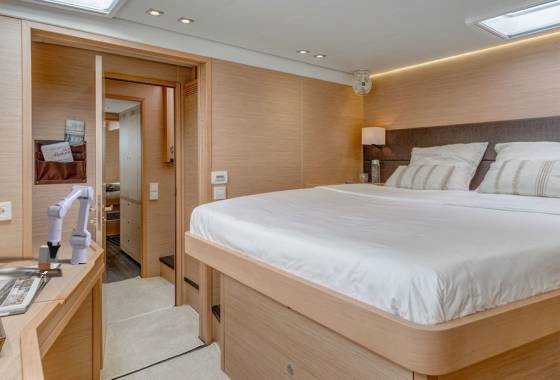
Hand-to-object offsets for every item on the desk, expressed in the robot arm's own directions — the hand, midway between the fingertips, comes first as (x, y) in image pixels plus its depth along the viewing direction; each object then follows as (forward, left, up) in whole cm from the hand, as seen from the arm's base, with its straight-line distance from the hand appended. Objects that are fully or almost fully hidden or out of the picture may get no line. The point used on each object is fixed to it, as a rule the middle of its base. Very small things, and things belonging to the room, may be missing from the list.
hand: (52, 257), depth 178 cm
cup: (0, 0, -2) cm, 2 cm away
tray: (0, 0, -9) cm, 9 cm away
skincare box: (-11, -2, -9) cm, 14 cm away
